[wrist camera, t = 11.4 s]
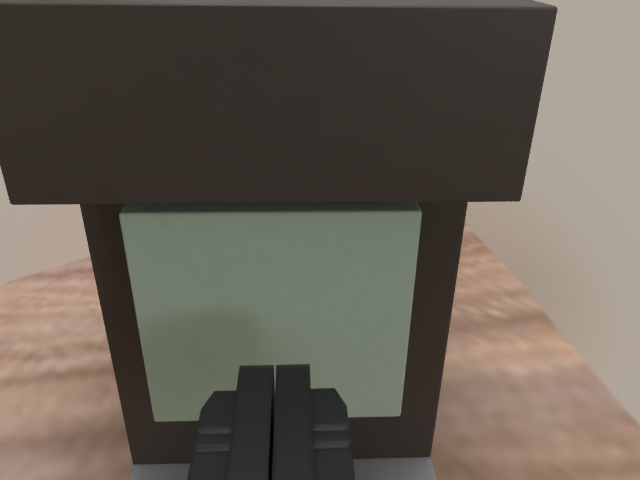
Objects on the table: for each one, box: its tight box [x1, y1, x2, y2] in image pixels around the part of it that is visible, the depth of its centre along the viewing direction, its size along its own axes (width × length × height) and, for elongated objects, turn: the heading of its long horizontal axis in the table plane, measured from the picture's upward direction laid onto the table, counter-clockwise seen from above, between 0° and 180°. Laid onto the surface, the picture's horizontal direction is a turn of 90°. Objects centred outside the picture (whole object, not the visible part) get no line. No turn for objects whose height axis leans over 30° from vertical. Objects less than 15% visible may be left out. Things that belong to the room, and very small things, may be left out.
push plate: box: [119, 202, 422, 422], centre depth 15 cm, size 2×7×6 cm, turn 93°
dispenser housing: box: [0, 0, 557, 480], centre depth 19 cm, size 12×11×17 cm
